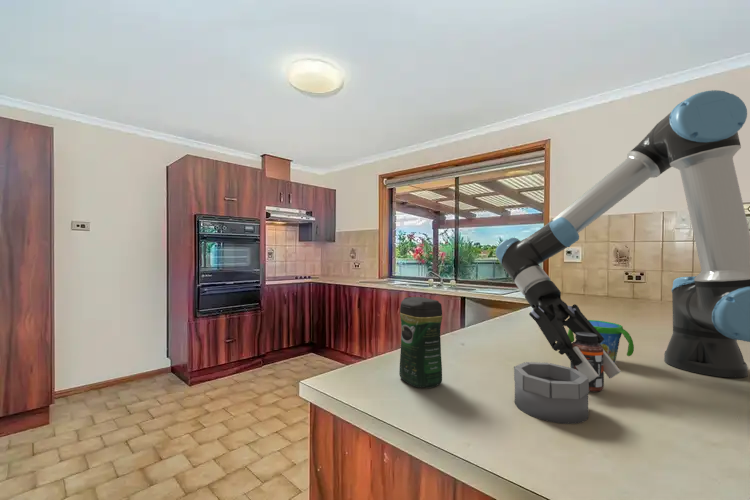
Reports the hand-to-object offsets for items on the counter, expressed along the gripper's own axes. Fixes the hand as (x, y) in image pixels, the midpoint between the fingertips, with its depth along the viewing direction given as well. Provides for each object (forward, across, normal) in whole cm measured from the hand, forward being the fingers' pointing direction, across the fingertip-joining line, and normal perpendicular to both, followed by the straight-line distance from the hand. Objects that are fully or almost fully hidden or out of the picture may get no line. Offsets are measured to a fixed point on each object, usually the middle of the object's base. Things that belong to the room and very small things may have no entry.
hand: (604, 376), depth 68 cm
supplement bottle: (0, 0, -5) cm, 5 cm away
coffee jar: (-11, +31, -16) cm, 37 cm away
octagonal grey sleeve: (+3, +15, -2) cm, 16 cm away
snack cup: (-8, -21, -14) cm, 27 cm away
